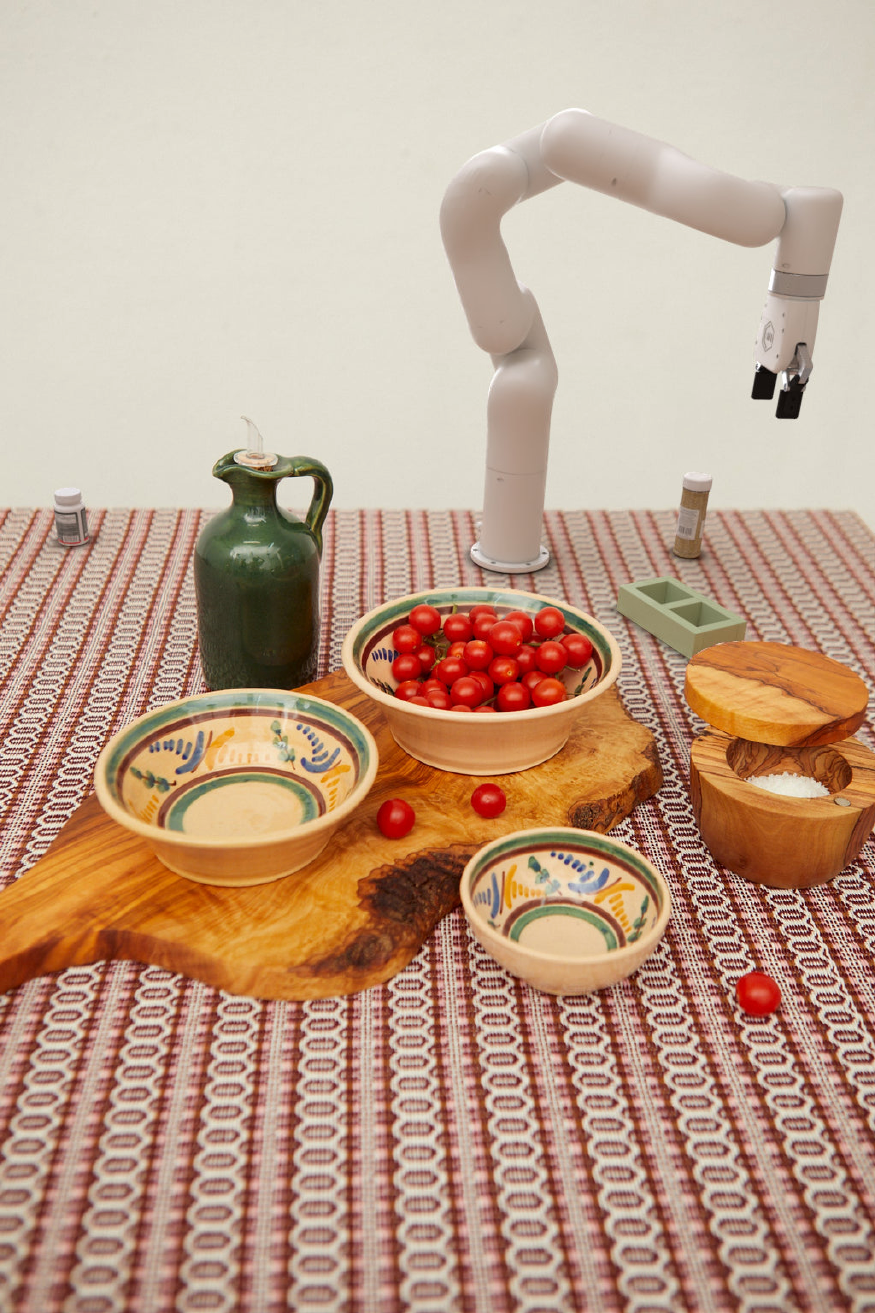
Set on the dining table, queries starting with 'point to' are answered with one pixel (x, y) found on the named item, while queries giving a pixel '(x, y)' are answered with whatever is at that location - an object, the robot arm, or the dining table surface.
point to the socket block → (679, 615)
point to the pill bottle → (70, 517)
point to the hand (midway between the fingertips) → (773, 408)
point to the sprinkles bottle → (692, 514)
